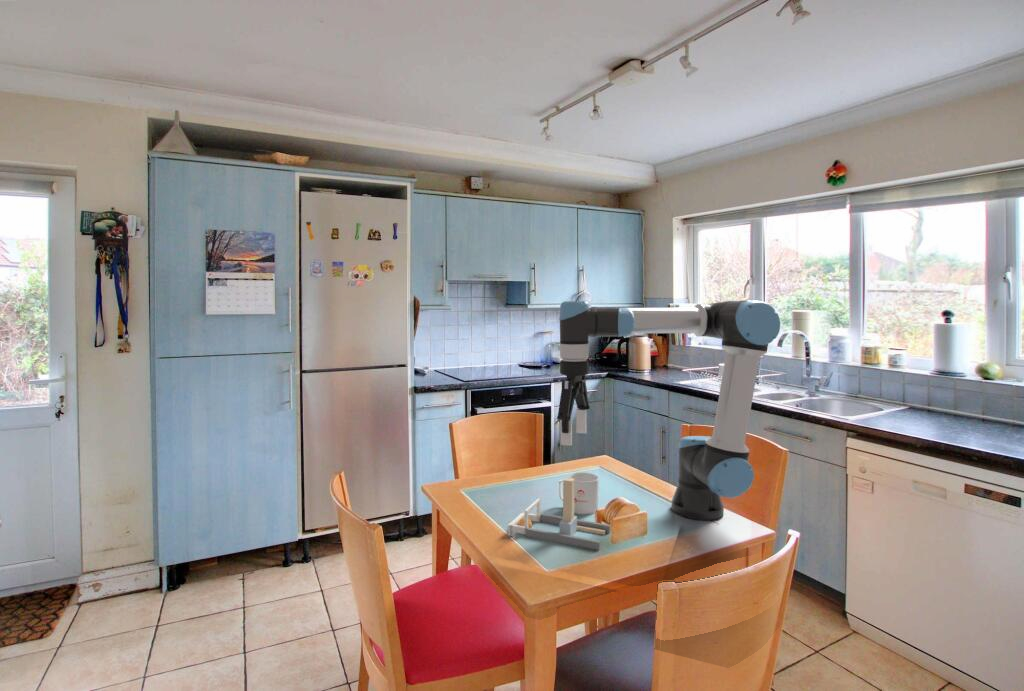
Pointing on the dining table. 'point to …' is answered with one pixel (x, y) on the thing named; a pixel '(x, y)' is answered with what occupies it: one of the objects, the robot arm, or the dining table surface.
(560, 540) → the pitch side rails
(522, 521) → the ball
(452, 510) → the dining table surface
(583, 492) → the mug
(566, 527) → the post
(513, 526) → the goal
